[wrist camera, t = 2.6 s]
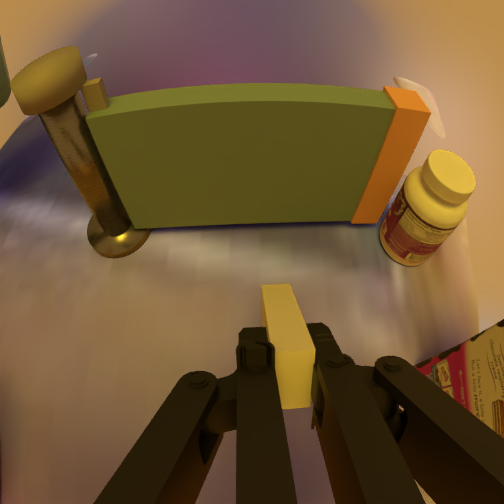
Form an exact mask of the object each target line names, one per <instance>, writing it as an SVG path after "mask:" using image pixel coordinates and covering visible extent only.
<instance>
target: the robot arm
mask: <svg viewBox="0 0 504 504" xmlns="http://www.w3.org/2000/svg"><path fill="white" fill-rule="evenodd" d="M10 93H11V87H10V78H9V74H8V70H7V65H6V61H5V57H4V52H3V47H2V43H1V37H0V108H1V107H2V106H3V105H4V104H5V103H6V102H7V100H8V98H9V96H10ZM261 295H262V327H252V328H243V329H242V330H241V332H240V333H239V345H238V346H237V348H236V358H237V370H236V371H235V372H234V373H233V374H231V375H229V376H226V377H223V378H219V379H217V378H216V376H215V375H213V374H212V373H209V372H206V371H194V372H190V373H187V374H185V375H183V376H182V377H181V378H180V379H179V381H178V382H177V384H176V385H175V387H174V388H173V390H172V391H171V393H170V394H169V395H168V397H167V398H166V400H165V401H164V403H163V404H162V406H161V407H160V409H159V410H158V412H157V413H156V414H155V416H154V417H153V419H152V420H151V422H150V423H149V425H148V426H147V427H146V429H145V430H144V432H143V433H142V435H141V436H140V438H139V439H138V440H137V442H136V443H135V445H134V446H133V448H132V449H131V451H130V452H129V453H128V455H127V456H126V458H125V459H124V461H123V462H122V463H121V465H120V466H119V468H118V469H117V471H116V472H115V473H114V475H113V476H112V478H111V479H110V481H109V482H108V483H107V485H106V486H105V488H104V489H103V491H102V492H101V493H100V495H99V496H98V498H97V499H96V500H95V502H94V503H93V504H195V502H196V499H197V497H198V495H199V493H200V490H201V488H202V486H203V483H204V481H205V479H206V476H207V474H208V472H209V469H210V467H211V465H212V462H213V460H214V458H215V455H216V453H217V450H218V448H219V446H220V443H221V441H222V438H223V434H224V432H228V431H232V430H235V429H237V443H236V504H297V498H296V492H295V486H294V479H293V473H292V467H291V461H290V455H289V449H288V443H287V437H286V430H285V424H284V418H283V412H282V409H294V408H305V407H311V397H312V401H313V404H314V407H313V416H312V424H311V429H314V425H315V426H316V430H317V433H318V437H319V441H320V445H321V449H322V452H323V456H324V460H325V464H326V468H327V472H328V476H329V480H330V483H331V487H332V491H333V495H334V499H335V503H336V504H426V503H425V501H424V499H423V497H422V495H421V493H420V491H419V488H418V486H417V484H416V482H415V480H416V481H417V483H418V484H419V485H420V486H421V487H422V488H423V489H424V490H425V492H426V493H427V494H428V495H429V496H430V497H431V498H432V499H433V501H434V502H435V503H436V504H504V439H503V438H502V437H501V436H500V435H498V434H497V433H496V432H495V431H493V430H492V429H491V428H490V427H488V426H487V425H486V424H485V423H483V422H482V421H481V420H480V419H479V418H477V417H476V416H475V415H474V414H472V413H471V412H470V411H469V410H467V409H466V408H465V407H464V406H462V405H461V404H460V403H459V402H457V401H456V400H455V399H454V398H452V397H451V396H450V395H449V394H447V393H446V392H445V391H444V390H442V389H441V388H440V387H439V386H437V385H436V384H435V383H434V382H432V381H431V380H430V379H429V378H427V377H426V376H425V375H424V374H422V373H421V372H420V371H418V370H417V369H416V368H415V367H413V366H412V365H411V364H410V363H408V362H407V361H406V360H404V359H402V358H400V357H396V356H384V357H381V358H379V359H377V361H376V362H375V366H374V367H370V366H359V365H355V363H354V361H353V359H352V358H351V357H350V356H348V355H346V354H342V352H341V350H340V348H339V346H338V345H337V343H336V341H335V340H334V337H333V335H332V333H331V331H330V329H329V327H327V326H326V325H324V324H323V323H310V324H305V321H304V319H303V316H302V313H301V311H300V308H299V306H298V303H297V301H296V298H295V296H294V293H293V291H292V288H291V286H290V284H274V285H261ZM399 405H400V406H401V407H403V408H404V411H402V410H401V409H400V408H399ZM414 479H415V480H414Z"/></svg>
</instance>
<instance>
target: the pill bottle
mask: <svg viewBox="0 0 504 504" xmlns="http://www.w3.org/2000/svg"><path fill="white" fill-rule="evenodd" d="M475 187H476V179H475V176H474V173H473V171H472V170H471V168H470V167H469V165H468V164H467V163H466V162H465V161H464V160H463V159H461V158H460V157H459V156H458V155H456V154H454V153H452V152H450V151H447V150H441V149H440V150H434V151H432V152H431V153H430V154H429V156H428V158H427V160H426V161H425V163H424V164H423V166H420V167H418V168H416V169H414V170H412V171H411V172H410V173H409V175H408V176H407V177H406V179H405V181H404V184H403V185H402V187H401V189H400V191H399V193H398V195H397V197H396V199H395V200H394V202H393V204H392V206H391V208H390V209H389V211H388V213H387V215H386V217H385V219H384V221H383V223H382V225H381V228H380V240H381V243H382V246H383V248H384V249H385V251H386V252H387V254H388V255H389V256H390V257H391V258H392V259H394V260H395V261H396V262H398V263H401V264H403V265H406V266H417V265H419V264H422V263H424V262H425V261H426V260H427V259H428V258H429V257H430V256H431V255H432V254H433V253H434V252H435V251H436V249H437V248H438V247H439V246H440V245H441V244H442V243H443V242H444V241H445V240H446V238H447V237H448V236H449V235H450V234H451V233H452V232H453V231H454V229H455V228H456V227H457V226H458V225H459V224H460V222H461V221H462V220H463V218H464V216H465V214H466V209H467V200H468V198H469V197H470V195H471V194H472V192H473V191H474V189H475Z"/></svg>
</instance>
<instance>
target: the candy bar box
mask: <svg viewBox="0 0 504 504" xmlns="http://www.w3.org/2000/svg"><path fill="white" fill-rule="evenodd" d="M415 368H416V369H417V370H418V371H420V372H421V373H422V374H424V375H425V376H426V377H427V378H429V379H430V380H431V381H432V382H434V383H435V384H436V385H437V386H439V387H440V388H441V389H442V390H444V391H445V392H446V393H447V394H449V395H450V396H451V397H452V398H454V399H455V400H456V401H457V402H459V403H460V404H461V405H462V406H464V407H465V408H466V409H467V410H469V411H470V412H471V413H472V414H474V415H475V416H476V417H477V418H479V419H480V420H481V421H482V422H483V423H485V424H486V425H487V426H488V427H490V428H491V429H492V430H493V431H495V432H496V433H497V434H498V435H500V436H501V437H502V438H503V439H504V319H503V320H501V321H500V322H498V323H497V324H495V325H493V326H491V327H490V328H488V329H486V330H484V331H482V332H481V333H479V334H477V335H475V336H474V337H471V338H470V339H468V340H467V341H465V342H463V343H461V344H459V345H457V346H455V347H453V348H451V349H449V350H447V351H445V352H443V353H441V354H439V355H437V356H435V357H433V358H430V359H428V360H426V361H423V362H421V363H419V364H417V365H416V366H415Z"/></svg>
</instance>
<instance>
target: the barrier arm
mask: <svg viewBox="0 0 504 504" xmlns="http://www.w3.org/2000/svg"><path fill="white" fill-rule="evenodd" d="M86 80H87V75H86V72H85V69H84V66H83V63H82V59H81V56H80V53H79V50H78V47H76V46H68V47H63V48H60V49H57V50H54V51H52V52H50V53H47V54H45V55H43V56H42V57H40V58H38V59H36V60H34V61H33V62H31V63H30V64H28V65H27V66H26V67H24V68H23V69H22V70H21V71H20V72H19V73H18V74H17V75H16V76H15V77H14V78H13V79H12V81H11V83H10V87H11V89H12V91H13V93H14V95H15V97H16V100H17V102H18V104H19V106H20V108H21V110H22V112H23V113H24V114H25V115H36V114H39V113H42V112H45V111H47V110H49V109H52V108H54V107H56V106H57V105H59V104H61V103H62V102H64V101H66V100H67V99H69V98H70V97H71V96H73V95H74V94H75V93H76V92H77V91H78V90H79V89H81V92H82V94H83V97H84V100H85V103H86V105H87V108H88V111H89V114H88V116H87V117H86V122H87V124H88V127H89V129H90V132H91V134H92V136H93V139H94V141H95V143H96V146H97V148H98V150H99V153H100V155H101V157H102V160H103V162H104V164H105V166H106V169H107V171H108V173H109V175H110V177H111V180H112V182H113V184H114V186H115V188H116V190H117V192H118V194H119V197H120V199H121V201H122V203H123V205H124V207H125V209H126V211H127V213H128V215H129V217H130V219H131V221H132V223H133V225H134V227H135V229H143V228H161V227H180V226H200V225H223V224H249V223H279V222H318V221H351V224H355V223H377V222H378V220H379V219H380V217H381V215H382V213H383V211H384V209H385V207H386V206H387V204H388V202H389V200H390V198H391V196H392V194H393V192H394V190H395V188H396V186H397V184H398V182H399V180H400V178H401V176H402V174H403V172H404V170H405V168H406V166H407V164H408V162H409V160H410V158H411V156H412V154H413V152H414V149H415V148H416V146H417V143H418V141H419V139H420V137H421V135H422V132H423V130H424V128H425V126H426V124H427V121H428V119H429V117H430V114H431V112H430V110H429V109H428V108H427V106H426V105H425V103H424V102H423V101H422V99H421V98H420V97H419V95H418V94H417V93H416V91H411V90H406V89H400V88H394V87H387V86H384V88H383V91H378V90H370V89H362V88H352V87H342V86H330V85H315V84H291V83H290V84H288V83H244V84H243V83H241V84H218V85H202V86H190V87H180V88H171V89H162V90H154V91H147V92H140V93H134V94H127V95H122V96H116V97H110V98H108V96H107V93H106V90H105V87H104V84H103V80H102V78H97V79H93V80H89V81H86Z"/></svg>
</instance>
